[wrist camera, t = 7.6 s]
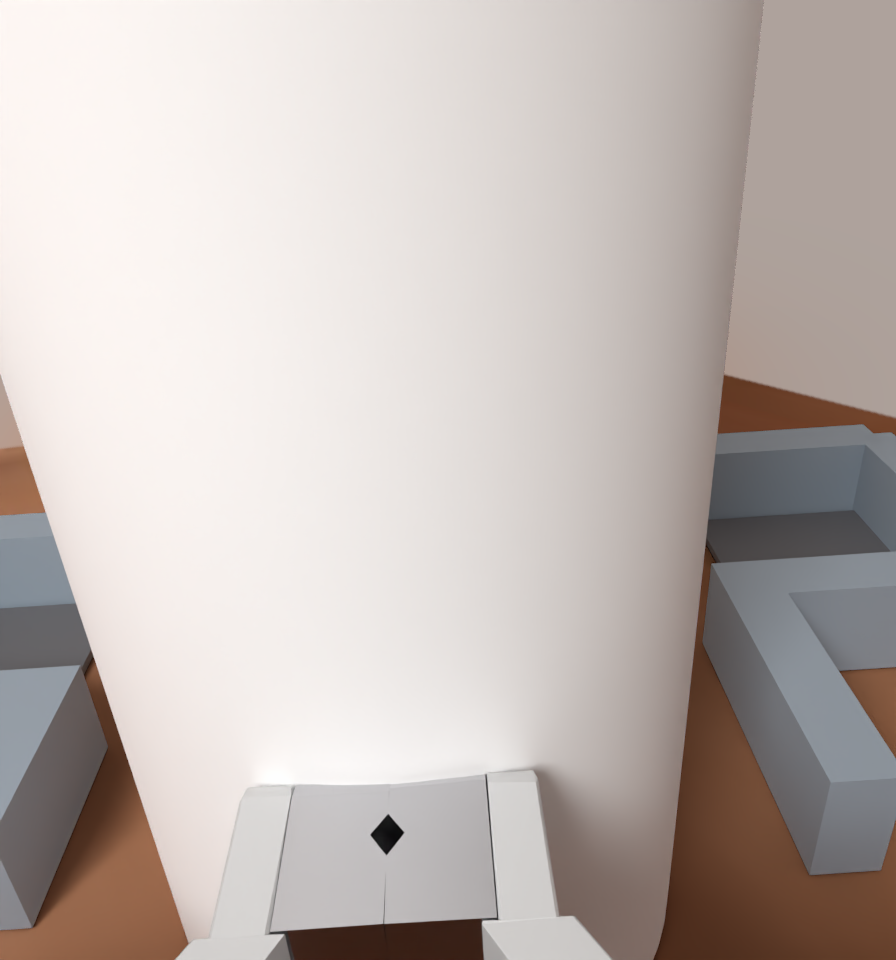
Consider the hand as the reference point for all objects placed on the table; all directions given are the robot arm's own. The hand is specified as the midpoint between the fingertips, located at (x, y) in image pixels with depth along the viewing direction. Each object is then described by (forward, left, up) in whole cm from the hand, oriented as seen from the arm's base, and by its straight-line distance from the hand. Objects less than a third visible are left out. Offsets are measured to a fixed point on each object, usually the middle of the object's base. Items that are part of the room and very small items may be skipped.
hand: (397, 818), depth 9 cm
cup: (0, +4, -6) cm, 7 cm away
